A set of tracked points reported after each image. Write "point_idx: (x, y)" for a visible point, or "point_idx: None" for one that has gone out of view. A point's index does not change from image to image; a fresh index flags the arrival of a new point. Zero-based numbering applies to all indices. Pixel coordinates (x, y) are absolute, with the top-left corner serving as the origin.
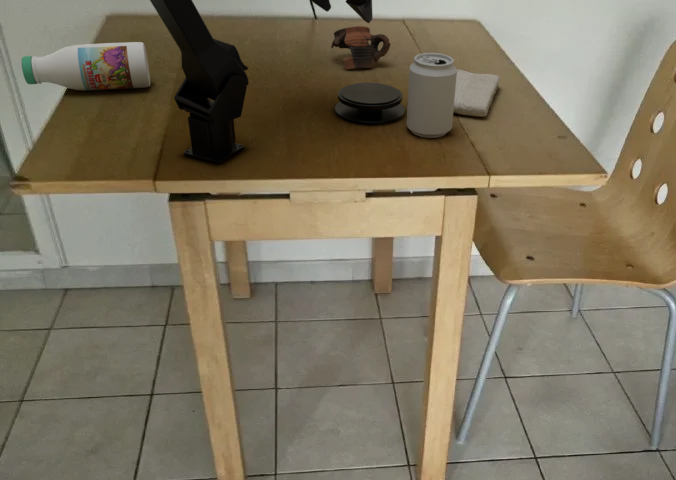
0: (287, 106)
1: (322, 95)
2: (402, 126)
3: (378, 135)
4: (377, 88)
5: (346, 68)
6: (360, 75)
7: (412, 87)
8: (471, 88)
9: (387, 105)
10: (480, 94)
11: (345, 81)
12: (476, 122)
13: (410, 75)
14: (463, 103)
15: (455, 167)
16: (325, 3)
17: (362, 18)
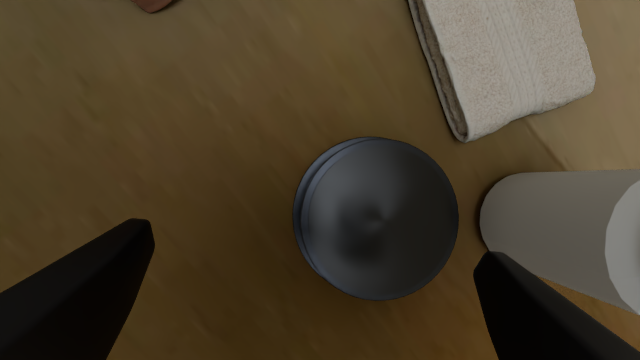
0: (205, 311)
1: (223, 202)
2: (464, 234)
3: (453, 303)
4: (379, 183)
5: (149, 10)
6: (207, 25)
7: (594, 297)
8: (534, 12)
9: (451, 250)
10: (567, 35)
11: (205, 87)
12: (564, 118)
13: (611, 299)
14: (553, 100)
15: (628, 325)
16: (124, 289)
17: (494, 336)
